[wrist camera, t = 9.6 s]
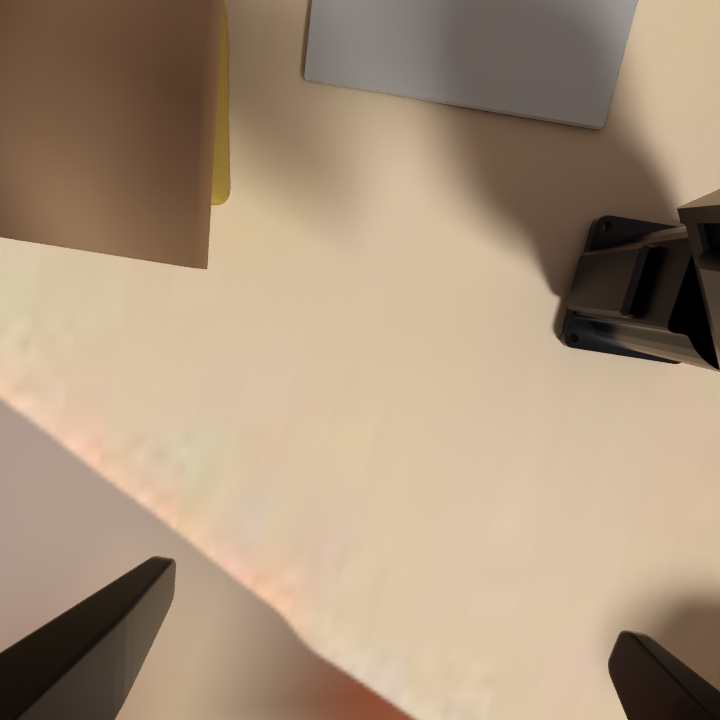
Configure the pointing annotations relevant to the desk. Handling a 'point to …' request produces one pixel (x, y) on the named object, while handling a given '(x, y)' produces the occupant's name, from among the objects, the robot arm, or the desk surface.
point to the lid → (110, 125)
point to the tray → (477, 53)
